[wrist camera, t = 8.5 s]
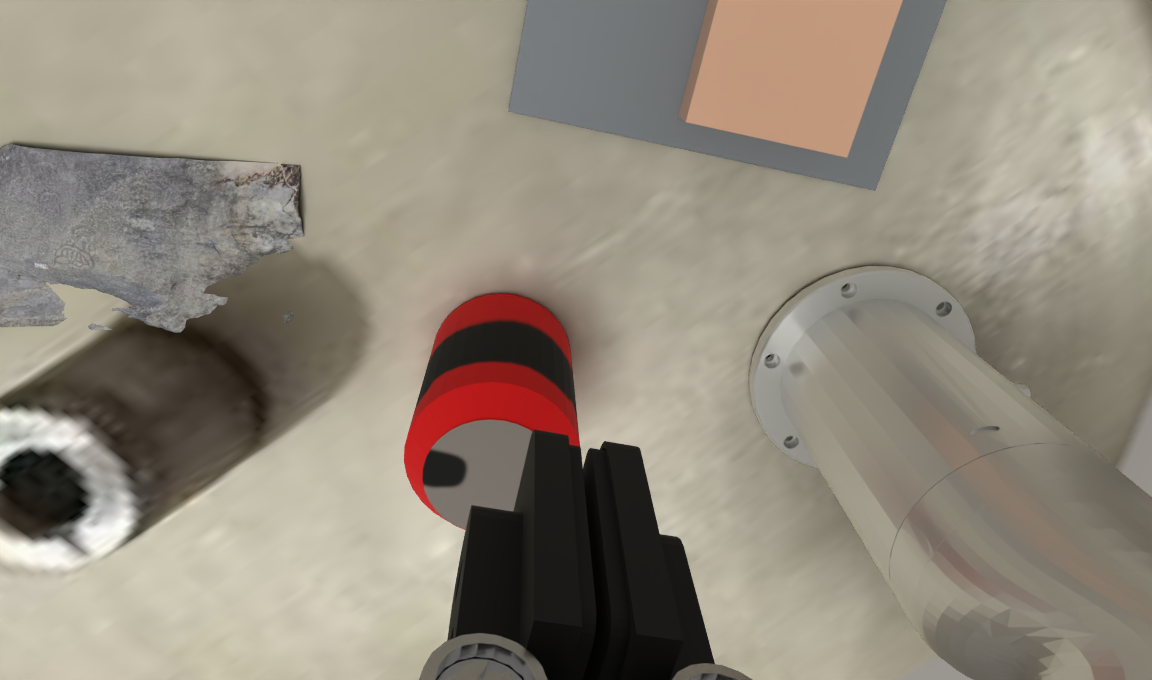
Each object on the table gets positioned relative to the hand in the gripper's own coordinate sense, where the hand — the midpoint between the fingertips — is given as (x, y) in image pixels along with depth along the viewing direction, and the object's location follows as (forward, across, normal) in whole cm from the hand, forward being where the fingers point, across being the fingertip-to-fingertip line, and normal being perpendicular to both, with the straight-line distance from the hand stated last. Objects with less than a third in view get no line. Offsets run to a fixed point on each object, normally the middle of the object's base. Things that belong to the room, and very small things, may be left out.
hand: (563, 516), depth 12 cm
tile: (+27, -6, -8) cm, 29 cm away
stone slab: (+30, +20, +9) cm, 37 cm away
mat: (+29, -7, -7) cm, 31 cm away
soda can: (+29, 0, +11) cm, 31 cm away
